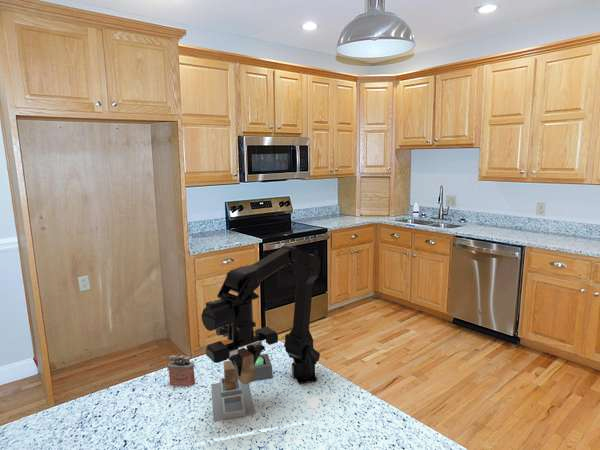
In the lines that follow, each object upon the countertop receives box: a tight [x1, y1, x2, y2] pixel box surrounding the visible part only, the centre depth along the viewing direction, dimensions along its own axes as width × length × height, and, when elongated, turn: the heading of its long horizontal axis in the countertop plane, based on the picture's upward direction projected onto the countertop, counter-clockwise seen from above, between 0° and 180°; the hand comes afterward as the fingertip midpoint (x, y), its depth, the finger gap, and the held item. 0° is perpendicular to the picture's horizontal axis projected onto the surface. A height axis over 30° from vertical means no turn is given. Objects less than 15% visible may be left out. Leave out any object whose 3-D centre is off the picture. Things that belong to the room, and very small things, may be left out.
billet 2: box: [235, 347, 255, 385], centre depth 104 cm, size 3×5×8 cm, turn 37°
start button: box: [254, 357, 264, 366], centre depth 124 cm, size 4×4×4 cm
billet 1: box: [222, 360, 236, 391], centre depth 116 cm, size 3×5×8 cm, turn 15°
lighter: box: [167, 354, 196, 387], centre depth 119 cm, size 8×3×10 cm, turn 84°
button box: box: [253, 353, 273, 382], centre depth 124 cm, size 8×8×5 cm
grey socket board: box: [210, 377, 256, 423], centre depth 112 cm, size 11×18×2 cm, turn 14°
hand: (244, 373), depth 105 cm, fingers closed on billet 2, 3 cm apart
